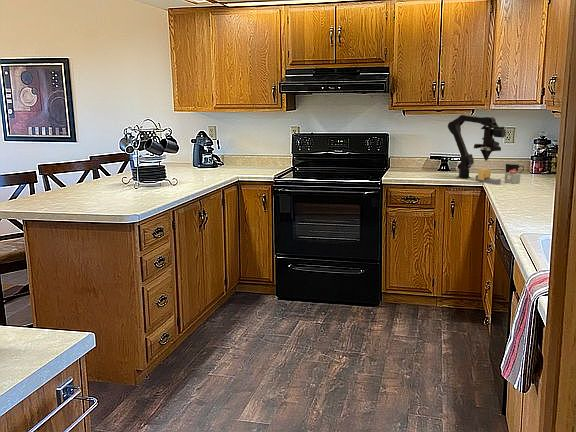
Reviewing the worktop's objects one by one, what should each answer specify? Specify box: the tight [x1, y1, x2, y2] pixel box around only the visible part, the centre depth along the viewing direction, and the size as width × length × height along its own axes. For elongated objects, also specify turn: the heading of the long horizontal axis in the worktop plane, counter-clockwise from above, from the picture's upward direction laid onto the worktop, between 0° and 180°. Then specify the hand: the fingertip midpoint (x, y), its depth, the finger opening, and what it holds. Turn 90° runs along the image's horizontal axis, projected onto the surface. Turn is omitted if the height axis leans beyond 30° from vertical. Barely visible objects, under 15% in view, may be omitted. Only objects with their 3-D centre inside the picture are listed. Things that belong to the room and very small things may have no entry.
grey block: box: [504, 172, 521, 184], centre depth 380 cm, size 7×6×6 cm
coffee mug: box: [505, 162, 525, 174], centre depth 396 cm, size 12×9×10 cm
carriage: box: [477, 168, 492, 180], centre depth 383 cm, size 5×6×6 cm
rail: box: [475, 174, 502, 185], centre depth 380 cm, size 19×3×3 cm, turn 26°
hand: (486, 160), depth 386 cm, fingers closed
